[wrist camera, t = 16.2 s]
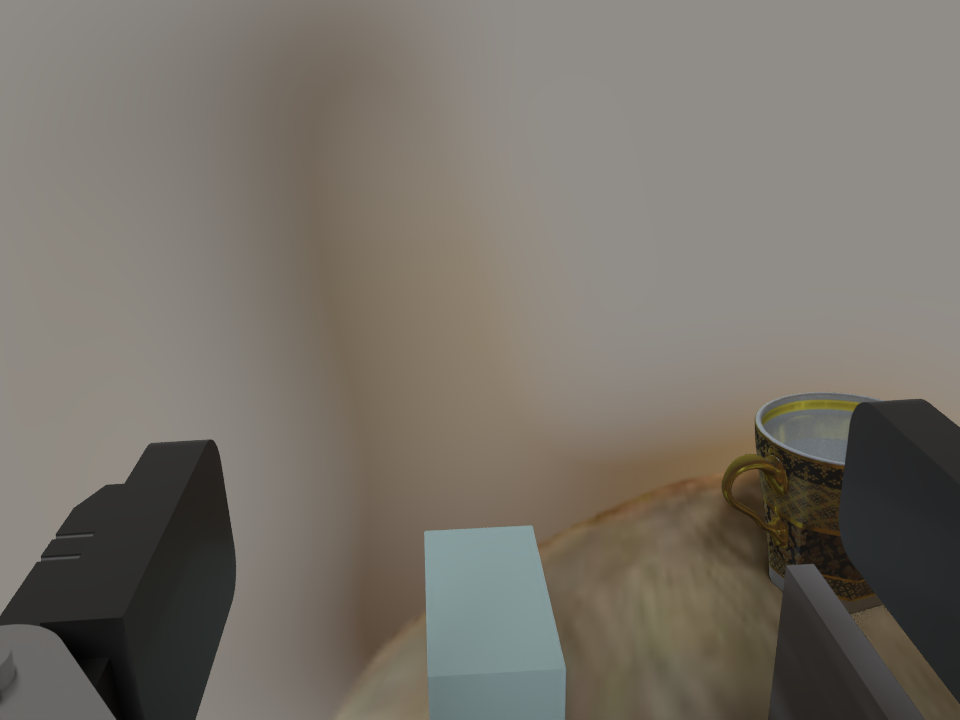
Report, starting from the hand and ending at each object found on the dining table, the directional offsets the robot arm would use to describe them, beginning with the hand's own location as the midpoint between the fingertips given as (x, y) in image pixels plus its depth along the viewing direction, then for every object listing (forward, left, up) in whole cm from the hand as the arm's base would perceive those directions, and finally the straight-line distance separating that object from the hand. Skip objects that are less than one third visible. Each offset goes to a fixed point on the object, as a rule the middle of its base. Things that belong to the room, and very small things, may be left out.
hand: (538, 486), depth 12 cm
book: (0, -12, -24) cm, 27 cm away
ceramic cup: (-20, -34, -26) cm, 47 cm away
